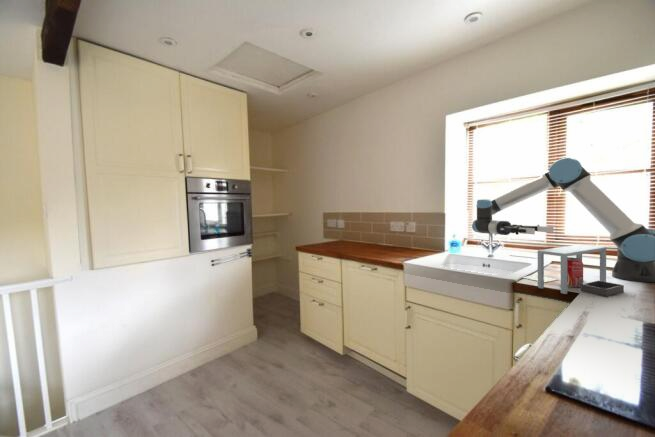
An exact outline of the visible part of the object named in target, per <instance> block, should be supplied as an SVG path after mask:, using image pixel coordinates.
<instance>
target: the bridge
mask: <svg viewBox="0 0 655 437" xmlns="http://www.w3.org/2000/svg"><path fill="white" fill-rule="evenodd" d="M598 252H599V281H604V282H607V246H596V245H586V244H575V245H568V246H567V245H565V246H560V247H553V248H545V249H538V250H537V275H538V281H537V289H545V283H544V277H545V275H544V274H545V271H544V270H545V262H544V261H545V259H544V257H545V255H550V256H557V257H558V256H559V257H560V294H564V295H567V294H568V286H567V257H573V256H575V258H580V259H581V261H582V262H583V255H585V254H590V253H591V254H592V253H598Z"/></svg>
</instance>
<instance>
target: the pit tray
mask: <svg viewBox="0 0 655 437" xmlns="http://www.w3.org/2000/svg"><path fill="white" fill-rule="evenodd" d="M624 288H625V285H624V284H621V283H620V284H619V283H614V282H608V281H606V282H604V281H600V280H593V281H589V282H585V283H584V282H583V284H581V287H580V292H581V291H582V293H585V292H586V294H590V295H595V296H600V297H603V298H604V297H605V298H609V296H610V297H613V296H617V295H621V294H624V293H625V289H624Z"/></svg>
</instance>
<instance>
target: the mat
mask: <svg viewBox="0 0 655 437" xmlns="http://www.w3.org/2000/svg"><path fill="white" fill-rule="evenodd" d="M521 278H522V279H526V280H530V281H534V282H538V274H532V275H527V276H522V277H521ZM556 281H559V279H558V278H553V277H547V276H544V284H545V283H550V282H556Z"/></svg>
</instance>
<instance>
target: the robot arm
mask: <svg viewBox="0 0 655 437" xmlns="http://www.w3.org/2000/svg"><path fill="white" fill-rule="evenodd" d="M591 179H592V174H591V173H590V172H589V171H588V170H587V169H586V168H585V167H583V165H582V164H581V162H580V161H579V160H578V159H576V158H572V157H563V158H560V159H557V160H555V161H554V162H553V163H551V165H550V166H549V168H548V171H545V172H543V173H542V175H541V176H540V177H538V178H536V179H533V180H532V181H530V182H527V183H526V184H523V185H522V186H519V187H518V188H515V189H513V190H511V191H509V192H507V193H504V194H503V195H500V196H499V197H496V198H495V199H493V200H492V199H488V198H486V199H477V201H476V219H475V220H473V221H472V224H471V229H472V230H473V231H474V232H475V233H479V234H490V235H494V236H497V235H500V236H501V235H502V236H508V235H510V234H515V235H520V234H523V235H526V234H527V235H536V234H535V233H536V232H539V233H554V226H545V225H544V226H543V225H540V224H537V225H522V224H512V223H511V222H510V221H508V220H492V219H493V215H496V214H497V213H499V212H501V211H503V210H505V209H508V208H510V207H512V206H514V205H516V204H518V203H521V202H523V201H525V200H527V199H529V198H531V197H534V196H536V195H538V194H541V193H543V192H545V191H547V190H549V189H556V188H558V187H560V189H562V191H563V192H570V193H571V194H572V195H573V197H574V198H575V199H577V201H578V202H579V203H580V204H581V205H582V206H583V207H584V208H585V209H586V210H587V211H588V212H589V213H590V214H591V215H592V216H593V217H594V218H595V219H596V221H598V222H599V224H601V225H602V227H603V228H604V229H606V230H607V232H608V233H609V234H610V235H609V240H610V241H611V242H612V243H613V244H614V245H615V246H616V247H617V256H616V258H617V260H616V262H615V263H614V266H613V269H612V271H611V276H612V277H613V278H617V279H621V280H626V281H634V282H640V283H641V282H643V283H655V229H653V228H647V227H645V226H644V225H643V224H641V223H636V222H634V221H632V219H631V218H630V217H629V216H628V215H627V214H626V213H625V212H624V211H622V210H621V208H620V207H619V206H618V205H616V203H615V202H613V201H612V200H611V199H610V198H609V197H608V196H607V195H606V194H605V193H604V192H603V191H602V190H601V189H600V188H599V187H598V186H597V185H596V184H595V183H594V182H593V181H592V180H591Z"/></svg>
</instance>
